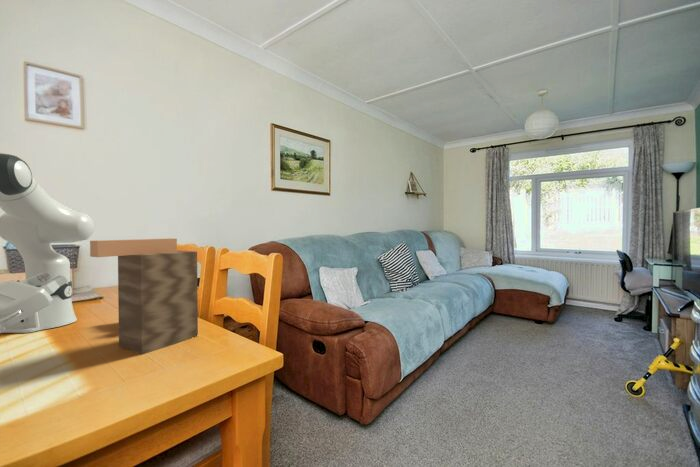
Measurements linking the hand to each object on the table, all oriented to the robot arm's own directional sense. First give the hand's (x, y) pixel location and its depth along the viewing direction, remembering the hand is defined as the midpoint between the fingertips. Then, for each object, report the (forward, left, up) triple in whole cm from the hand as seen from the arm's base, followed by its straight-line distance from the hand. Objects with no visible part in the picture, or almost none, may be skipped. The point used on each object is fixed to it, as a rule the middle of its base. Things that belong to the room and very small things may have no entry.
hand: (56, 276), depth 72 cm
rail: (+11, +13, +4) cm, 18 cm away
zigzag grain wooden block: (+15, +18, -22) cm, 32 cm away
